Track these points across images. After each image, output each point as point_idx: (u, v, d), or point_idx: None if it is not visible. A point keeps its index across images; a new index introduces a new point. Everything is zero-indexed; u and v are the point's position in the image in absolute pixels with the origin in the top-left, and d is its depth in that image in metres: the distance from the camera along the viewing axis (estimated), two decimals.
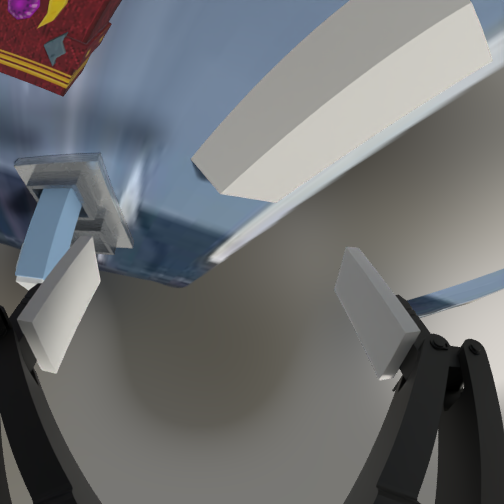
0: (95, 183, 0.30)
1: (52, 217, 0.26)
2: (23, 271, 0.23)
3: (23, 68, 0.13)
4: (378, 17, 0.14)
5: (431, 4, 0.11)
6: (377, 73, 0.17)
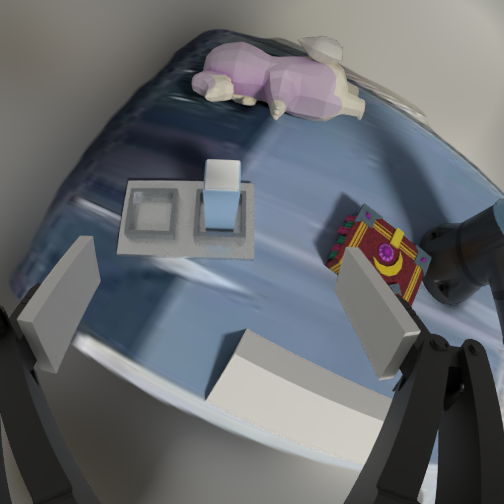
0: (227, 248, 0.42)
1: None
2: None
3: (353, 240, 0.42)
4: (370, 402, 0.38)
5: None
6: (349, 414, 0.36)
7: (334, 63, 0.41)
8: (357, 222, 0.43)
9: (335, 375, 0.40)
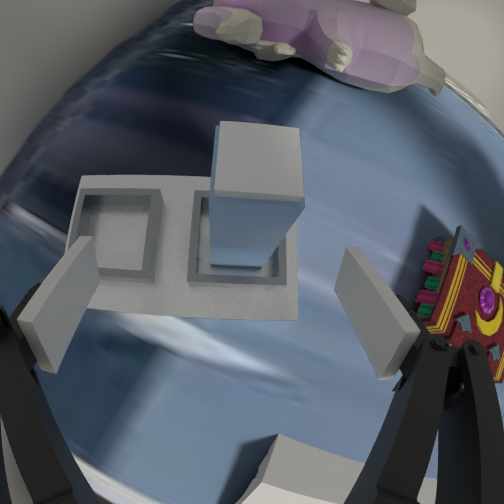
0: (251, 302, 0.23)
1: None
2: None
3: (452, 287, 0.23)
4: None
5: None
6: None
7: (406, 12, 0.22)
8: (455, 256, 0.24)
9: None
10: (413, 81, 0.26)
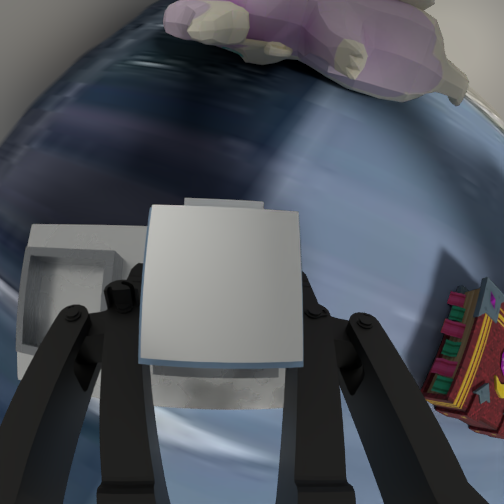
0: (235, 390, 0.17)
1: None
2: None
3: (474, 355, 0.17)
4: None
5: None
6: None
7: (423, 6, 0.17)
8: (480, 317, 0.18)
9: None
10: (433, 89, 0.21)
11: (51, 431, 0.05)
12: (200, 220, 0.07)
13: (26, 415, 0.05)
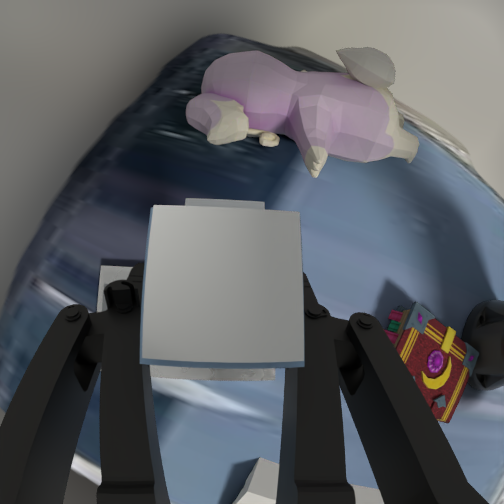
0: (240, 369, 0.30)
1: None
2: None
3: (401, 355, 0.30)
4: None
5: None
6: None
7: (384, 86, 0.30)
8: (407, 330, 0.31)
9: (358, 487, 0.28)
10: (386, 155, 0.34)
11: (51, 431, 0.05)
12: (201, 220, 0.07)
13: (26, 415, 0.05)
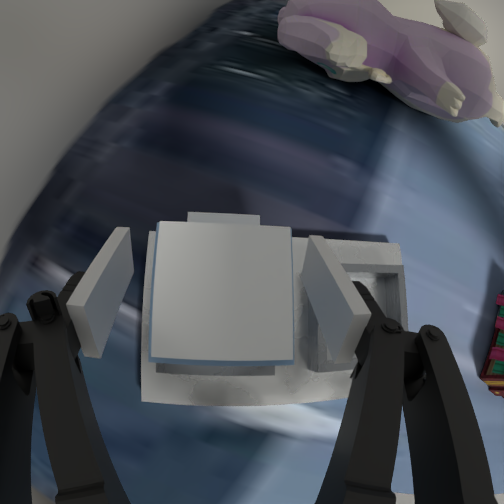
0: None
1: None
2: None
3: None
4: None
5: None
6: None
7: (479, 44, 0.19)
8: None
9: None
10: (484, 115, 0.24)
11: (4, 435, 0.05)
12: (203, 235, 0.08)
13: None
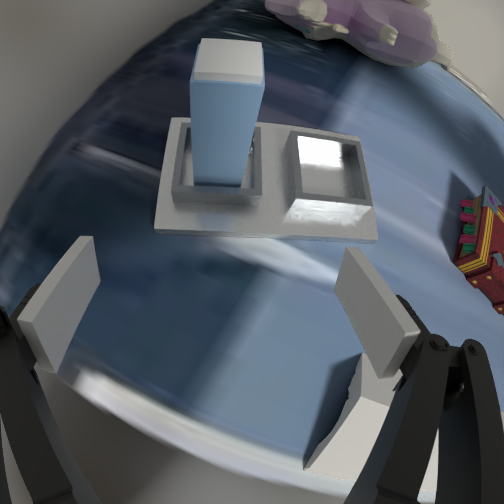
0: (342, 224, 0.26)
1: None
2: None
3: (486, 230, 0.26)
4: None
5: None
6: None
7: (423, 6, 0.26)
8: (485, 207, 0.27)
9: None
10: (431, 58, 0.31)
11: None
12: (221, 42, 0.14)
13: None
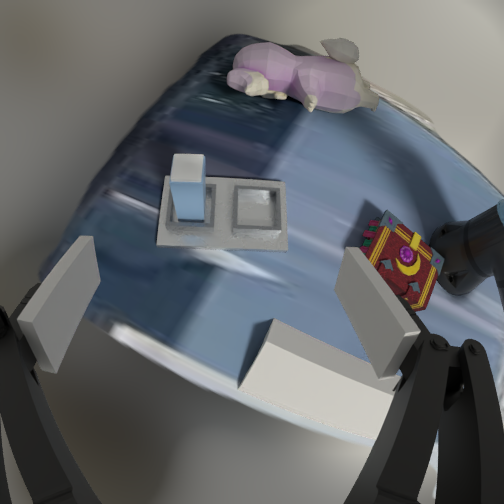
0: (263, 241, 0.46)
1: None
2: (204, 165, 0.35)
3: (378, 243, 0.45)
4: (388, 381, 0.42)
5: None
6: (371, 392, 0.40)
7: (352, 62, 0.46)
8: (381, 227, 0.46)
9: (355, 358, 0.44)
10: (357, 105, 0.50)
11: None
12: (183, 156, 0.34)
13: None
